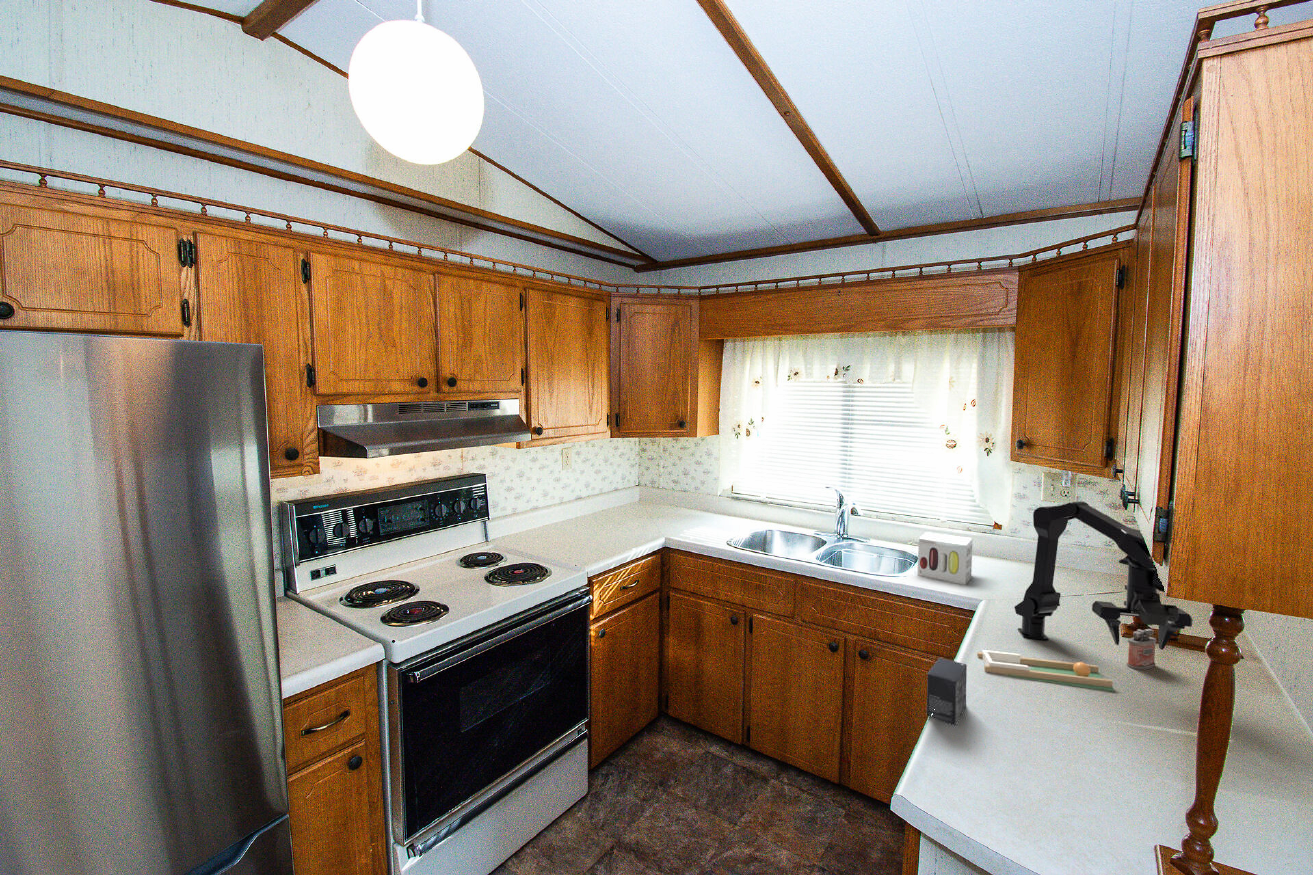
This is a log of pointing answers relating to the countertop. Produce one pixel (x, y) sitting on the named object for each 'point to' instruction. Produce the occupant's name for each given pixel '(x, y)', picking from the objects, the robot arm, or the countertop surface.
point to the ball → (1081, 669)
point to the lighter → (1141, 650)
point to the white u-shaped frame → (1003, 660)
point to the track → (1055, 673)
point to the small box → (946, 690)
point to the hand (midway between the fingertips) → (1138, 646)
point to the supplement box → (945, 557)
